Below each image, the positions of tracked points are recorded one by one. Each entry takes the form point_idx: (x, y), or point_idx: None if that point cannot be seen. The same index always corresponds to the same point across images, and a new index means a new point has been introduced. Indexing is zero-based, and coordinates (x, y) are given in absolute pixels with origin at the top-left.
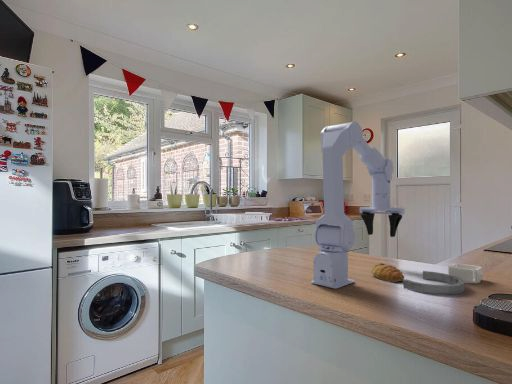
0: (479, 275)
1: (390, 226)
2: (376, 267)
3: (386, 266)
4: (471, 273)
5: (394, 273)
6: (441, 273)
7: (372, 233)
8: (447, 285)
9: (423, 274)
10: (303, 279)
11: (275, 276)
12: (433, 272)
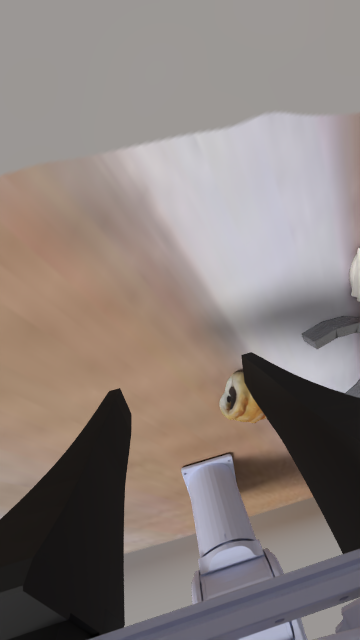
0: None
1: (285, 440)
2: (238, 419)
3: (262, 415)
4: None
5: None
6: (353, 327)
7: (119, 393)
8: None
9: (313, 345)
10: (167, 499)
11: (127, 523)
12: (337, 334)
